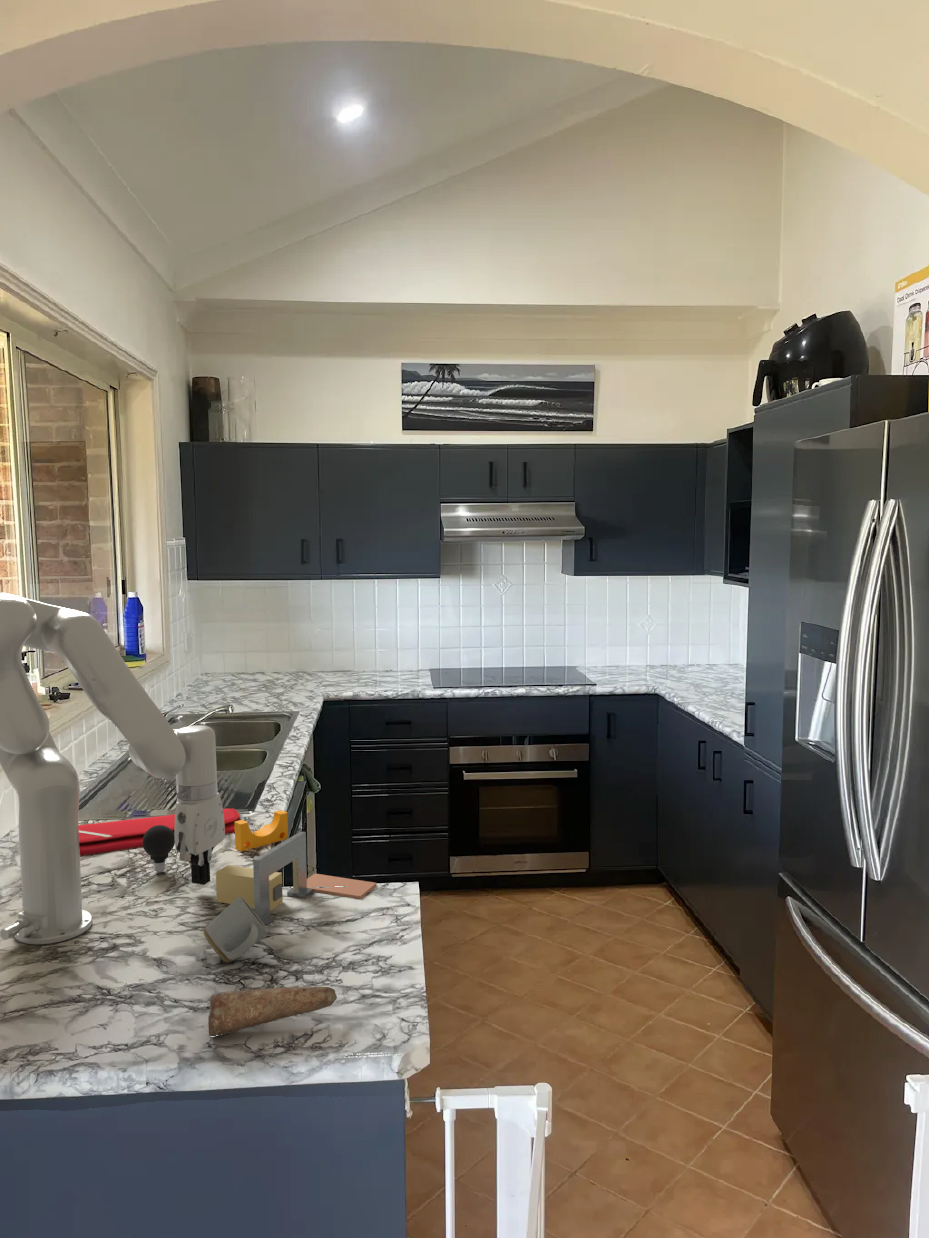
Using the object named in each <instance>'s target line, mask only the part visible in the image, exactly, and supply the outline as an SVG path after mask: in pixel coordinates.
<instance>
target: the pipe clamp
mask: <svg viewBox="0 0 929 1238" xmlns="http://www.w3.org/2000/svg"><path fill="white" fill-rule="evenodd" d="M272 817H273V818H272V821H271V823H267V824H264V825H263V826H262V827H261V828H259V829H258V830H255V831H251V829H250V826H249V822H248V821H246V820H244V819H241V820H239V821H235V822H234V823H235V833H234V844H235V845H234V848H235V850H237V849H238V850H237V851H239V852H245V851H248V850H247V849H249V850H252V849H255V848H259V847H262V846H267V845H271V844H274V843H277V842H281V841H285V840H287V839H289V822H288V820H289V818H288V812H287V811H284V810H282V809H279V810H276V811H274V812H273V816H272ZM244 850H245V851H244Z"/></svg>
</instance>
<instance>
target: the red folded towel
mask: <svg viewBox="0 0 929 1238" xmlns="http://www.w3.org/2000/svg"><path fill="white" fill-rule="evenodd" d="M223 814H224V824H225V835H228V834H233V832H235V823H234V822H235V821H239V820H242V819H241V815H240V813H239V811H238V810H236V809H235V808H223ZM156 825H164V826H167V827H168V828H170V829H171V830H172V831H173V833H174V827H175V814H169V815H168V814H167V815H162V816H160V815H159V816H152V817H151V816H150V817H142V818H141V817H140V818H139V817H138V818H131V819H124V820H114V821H105V822H96V823H86V824H78V826H79V849H80V857H81V856H87V855H95V854H101V853H107V852H115V851H123V850H127V849H128V850H129V849H136V848H141V847H143V844H142V841H143V837H144V835H145V833H146V832H147V830H149V829H150V828H151V827H153V826H156ZM227 833H228V834H227Z"/></svg>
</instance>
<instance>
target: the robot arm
mask: <svg viewBox="0 0 929 1238" xmlns="http://www.w3.org/2000/svg"><path fill="white" fill-rule="evenodd" d="M24 647H27V648H30V649H34V650H35V649H36V650H40V651H43V652H44V651H45V652H49V653H55V654H56V653H57V654H58V655H59V657H60V658H61V660H62V661H63V663H64V665H66V666H67V668H68V670H69V671H70V672H71V674H72V675H73V677H74V678H75V680H76V681H77V683H78V685H79V686H80V687H81V689H82V691H83V692H84V693H85V695H86V696H87V698H88V699H89V701H90V702H91V704H93V706H94V707H95V708H96V710H98V712H99V713H101V715H103V716H104V718H106V719H107V720H108V721H109V722H111V724H113V726H115V728H117V730H118V731H119V732H120V733H121V734H122V736H123V737H124V738H125V740H126V741H127V742H128V743H129V744H128V755H129V757H130V759H131V761H132V762H133V763H134V764H135V765H136V766H137V767H139V768H140V769H142V770H143V771H144V772H146V773H147V774H149V775H150V776H152V777H153V778H155V779H165V780H166V779H170V778H172V777H175V783H176V803H175V810H174V813H175V827H174V835H175V845H174V848H175V850H176V852H177V853H179V859H178V861H179V862H182V863H183V862H184V863H187V862H188V864H189V865H190V873H191V874H190V875H191V877H190V878H191V883H192V884H195V885H201V886H202V885H203V886H204V885H207V884H208V883H210V882H211V866H210V864H211V863H210V862H211V861H212V858H213V857H212V855H213V850H214V849H215V848H216V847H217V846H218V845H219V844H220V843H222V842H223V841H224V840H225V837H226V834H225V824H224V814H223V809H224V808H223V802H222V798H221V795H220V792H218V777H217V775H218V773H217V750H216V748H217V747H216V746H217V745H216V734H215V731H214V729H213V728H212V727H211V726H208V725H203V724H201V725H200V724H199V725H189V726H184V727H180V728H173V727H172V726H171V724H170V723H169V722H168V720H167V718H166V717H165V715H164V714H163V713H162V712H161V710H160V708H159V707H158V706H157V705H156V703H155V702H154V701H153V699H152V698H151V697H150V696H149V694H148V693H147V691H146V690H145V688H144V687H143V685H142V684H141V683H140V682H139V680H138V679H137V678H136V676H135V674H134V673H133V672H132V670H131V669H130V667H129V666H128V664H127V663H126V662H125V660H124V658H123V657H122V655H121V653H120V652H119V651H118V649H117V647H116V646H115V644H114V643H113V641H112V640H111V638H110V636H109V635H108V634H107V631H105V629H104V628H103V626H102V625H101V624H100V622H99V621H98V620H97V619H96V618H95V617H94V616H93V615H91V614H89V613H87V612H83V611H80V610H77V609H71V608H66V607H62V606H57V605H53V604H49V603H45V602H41V601H37V600H35V599H30V598H26V597H22V596H20V595H15V594H12V593H7V592H0V767H1V768H2V770H3V772H4V774H5V776H6V779H7V780H8V782H9V784H10V786H11V787H12V788H13V790H14V791H15V793H16V794H17V798H18V843H19V845H18V846H19V847H18V848H19V858H20V859H19V860H20V861H19V862H20V878H21V879H20V880H21V900H22V911H20V912H18V913H17V918H18V919H16V920H15V922H14V923H13V924H9V925H8V926H6V927H4V928H1V929H0V938H1V939H3V940H4V941H6V940H9V939H10V938H13V937H14V938H15V940H16V941H18V942H20V943H22V944H28V945H48V944H55V943H60V942H64V941H67V940H70V939H73V938H75V937H79V936H80V935H82V934H84V933H85V932H86V931H89V929H90V928H91V927H92V925H93V916H92V914H91V913H90V912H89V911H87V910H84V909H83V897H82V877H81V876H82V875H81V874H82V873H81V856H80V849H79V826H78V825H79V810H80V809H79V807H80V806H79V805H80V795H81V794H80V792H81V790H80V785H81V784H80V779H79V775H78V773H77V770H76V768H75V767H74V765H73V764H72V763H71V761H70V760H69V759H67V758H66V757H65V756H64V755H63V754H61V753H60V750H59V749H58V747H57V745H56V744H55V741H54V739H53V737H52V735H51V732H50V720H49V717H48V714H47V712H46V710H45V709H44V707H43V706H42V704H41V703H40V700H39V699H38V696H37V694H36V692H35V690H34V688H33V686H32V684H31V682H30V680H29V677H28V674H27V672H26V670H25V668H24V665H23V661H22V651H23V648H24Z"/></svg>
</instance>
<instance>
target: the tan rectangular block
mask: <svg viewBox="0 0 929 1238" xmlns="http://www.w3.org/2000/svg"><path fill="white" fill-rule="evenodd" d="M215 885H216V888H215V889H216V890H215V892H216V902H218V903H223V904H229V905H230V904H231V903H232V902H233V901H234V900H235V899H237V898H238V897H239V896H240V897H242V898H243V899H244V900H245V901H246V903H247V904H248V905H249V906H250V907H251V908H252V909H254V908H253V907H254V873H253V867H252V868H250V867H245V866H238V865H231V864H227V865H225V866H224V867H222V868H220V869H219V870H217V871H216V872H215ZM283 896H284V894H283V873H282V872H278V871H276V872H275V873H273V874H272V875H270V876H269V901H270V912H271V911H272V910H274V909H275V908H277V907H279V906H280V905H281V904H282V903H283V899H284V898H283Z"/></svg>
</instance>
